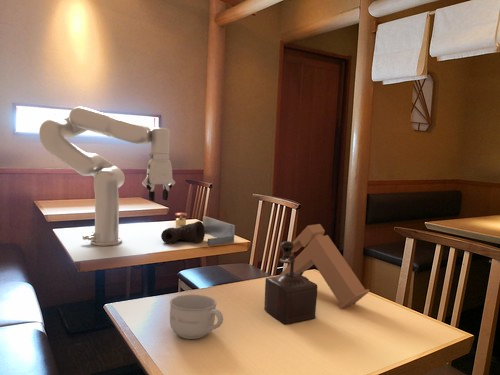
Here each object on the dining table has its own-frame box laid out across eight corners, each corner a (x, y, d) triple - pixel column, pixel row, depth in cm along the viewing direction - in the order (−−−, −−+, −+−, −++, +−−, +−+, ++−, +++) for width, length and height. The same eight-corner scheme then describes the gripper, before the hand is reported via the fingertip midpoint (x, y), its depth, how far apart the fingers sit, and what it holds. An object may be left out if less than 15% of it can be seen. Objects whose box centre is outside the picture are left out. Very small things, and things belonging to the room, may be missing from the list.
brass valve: (178, 232, 200) (179, 214, 200) (172, 230, 205) (173, 213, 204) (188, 231, 204) (188, 214, 203) (182, 229, 208) (183, 212, 207)
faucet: (323, 329, 129) (284, 263, 141) (369, 291, 116) (322, 222, 128) (308, 335, 125) (269, 266, 137) (355, 296, 111) (307, 224, 124)
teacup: (160, 331, 96) (161, 298, 95) (196, 319, 104) (198, 288, 103) (195, 355, 86) (197, 318, 86) (233, 339, 94) (235, 306, 93)
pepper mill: (318, 318, 108) (323, 252, 106) (284, 325, 103) (288, 256, 101) (285, 297, 122) (289, 238, 120) (253, 303, 116) (257, 241, 114)
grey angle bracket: (209, 246, 177) (209, 228, 176) (180, 234, 196) (181, 218, 195) (235, 242, 186) (235, 225, 185) (205, 231, 205) (206, 216, 204)
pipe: (159, 225, 177) (190, 223, 173) (174, 222, 192) (204, 219, 188) (161, 248, 177) (192, 246, 173) (176, 242, 192) (206, 240, 188)
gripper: (144, 157, 162) (143, 202, 164) (182, 158, 173) (180, 200, 175) (136, 156, 168) (135, 199, 170) (173, 157, 179) (172, 198, 181)
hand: (158, 199), depth 172 cm, fingers open, 5 cm apart
